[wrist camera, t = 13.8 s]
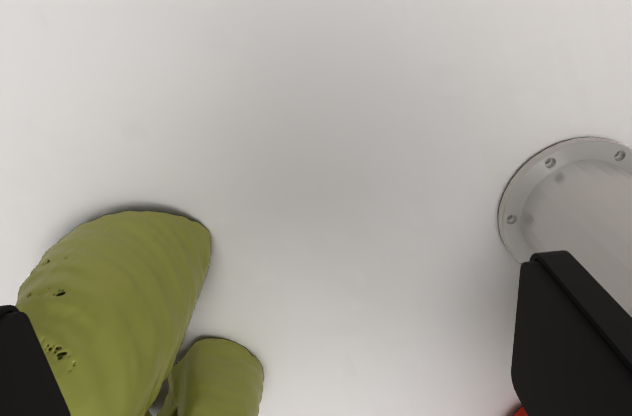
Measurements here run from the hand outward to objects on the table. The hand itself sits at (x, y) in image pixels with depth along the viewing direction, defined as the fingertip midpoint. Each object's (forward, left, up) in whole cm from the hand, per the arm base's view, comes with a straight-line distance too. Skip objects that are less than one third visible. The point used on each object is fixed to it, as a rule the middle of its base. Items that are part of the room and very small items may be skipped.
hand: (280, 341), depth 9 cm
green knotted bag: (+15, +22, -31) cm, 41 cm away
